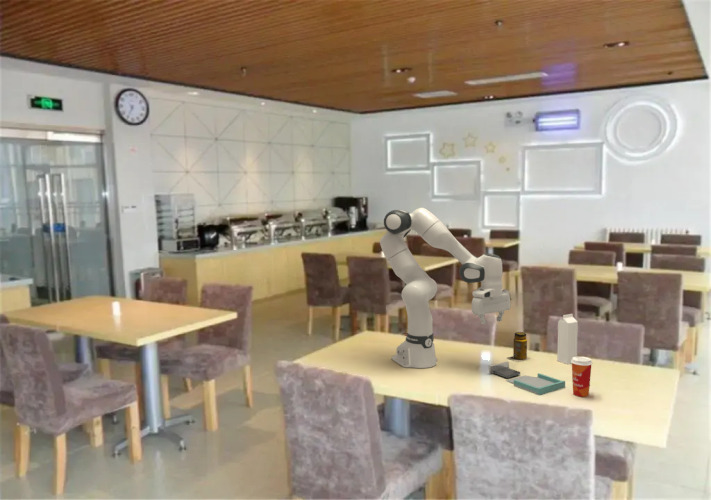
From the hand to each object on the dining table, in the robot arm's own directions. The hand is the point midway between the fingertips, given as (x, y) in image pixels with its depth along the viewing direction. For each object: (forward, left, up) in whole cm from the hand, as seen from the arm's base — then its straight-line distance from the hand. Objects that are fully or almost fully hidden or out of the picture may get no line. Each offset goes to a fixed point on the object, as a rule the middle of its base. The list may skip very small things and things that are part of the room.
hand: (491, 322), depth 254 cm
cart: (+9, 0, -21) cm, 23 cm away
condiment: (-4, +22, -21) cm, 31 cm away
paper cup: (+42, +6, -21) cm, 47 cm away
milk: (+12, +36, -21) cm, 43 cm away
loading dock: (+23, 0, -22) cm, 32 cm away
